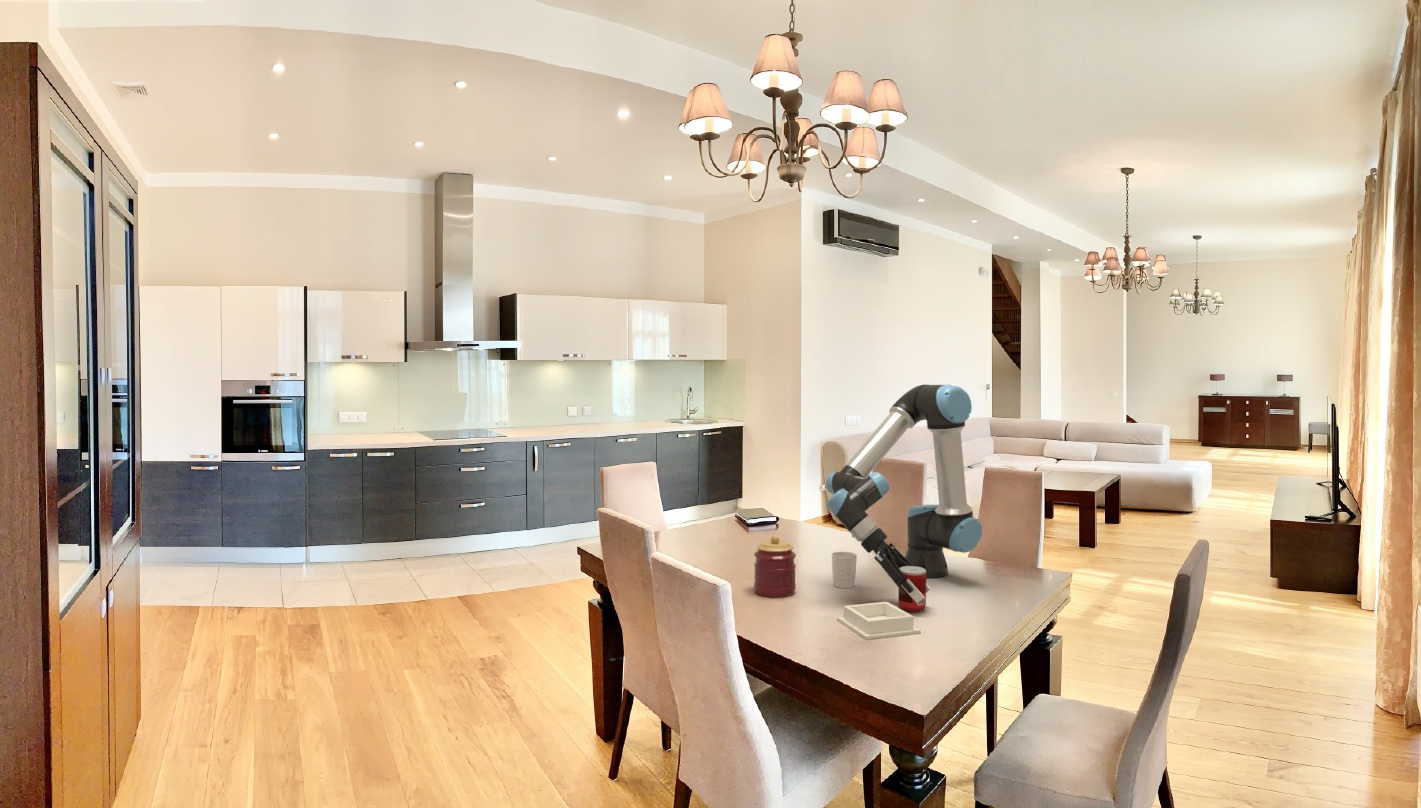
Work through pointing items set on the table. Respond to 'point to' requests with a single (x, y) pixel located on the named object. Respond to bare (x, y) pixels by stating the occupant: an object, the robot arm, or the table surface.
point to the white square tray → (878, 620)
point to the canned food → (919, 581)
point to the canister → (774, 568)
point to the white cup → (844, 569)
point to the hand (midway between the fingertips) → (924, 595)
